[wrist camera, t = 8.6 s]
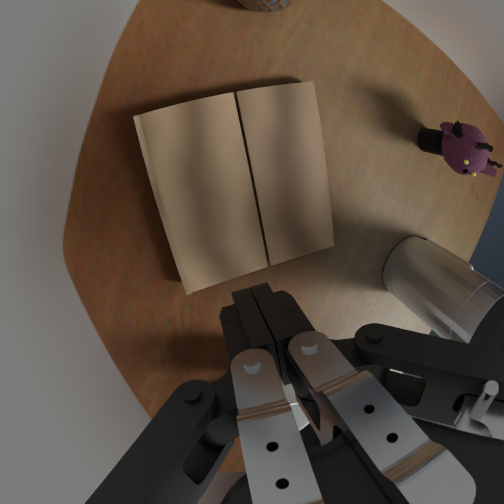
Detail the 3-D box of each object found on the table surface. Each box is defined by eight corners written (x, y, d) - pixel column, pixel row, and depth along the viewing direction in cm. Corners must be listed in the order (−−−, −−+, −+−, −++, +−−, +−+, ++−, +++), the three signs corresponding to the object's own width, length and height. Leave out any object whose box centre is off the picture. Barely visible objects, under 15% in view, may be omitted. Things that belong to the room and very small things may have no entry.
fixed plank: (305, 83, 27) (313, 81, 26) (327, 239, 35) (334, 245, 34) (232, 93, 26) (236, 91, 24) (265, 258, 34) (270, 265, 33)
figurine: (400, 115, 31) (477, 124, 21) (439, 106, 32) (509, 116, 21) (410, 174, 35) (481, 200, 24) (446, 160, 36) (512, 181, 25)
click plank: (228, 94, 26) (233, 91, 24) (262, 259, 34) (268, 267, 32) (134, 117, 24) (133, 116, 22) (184, 285, 32) (186, 295, 30)
